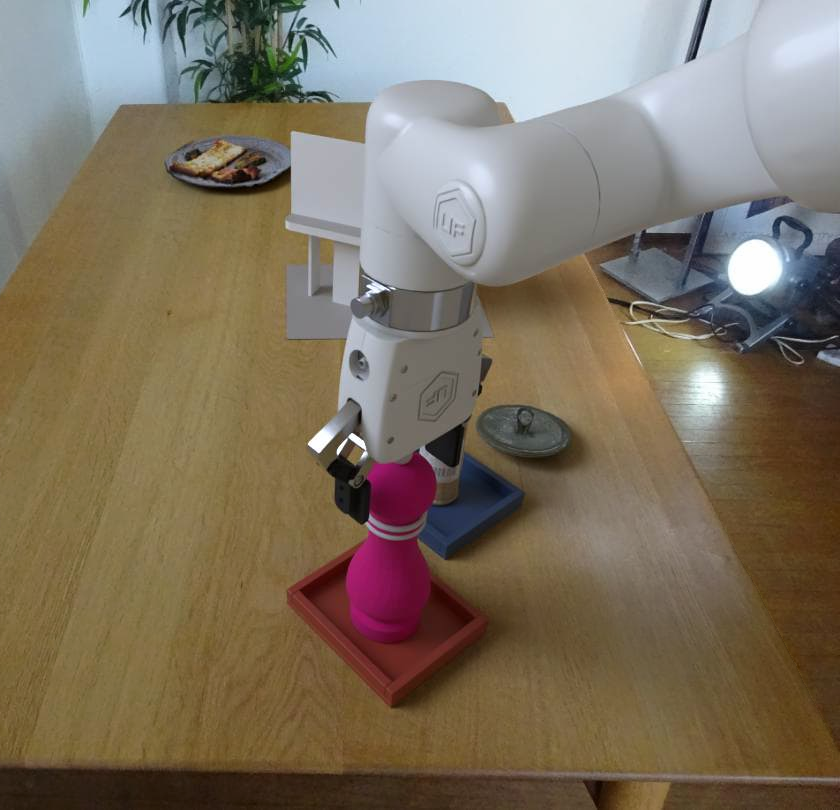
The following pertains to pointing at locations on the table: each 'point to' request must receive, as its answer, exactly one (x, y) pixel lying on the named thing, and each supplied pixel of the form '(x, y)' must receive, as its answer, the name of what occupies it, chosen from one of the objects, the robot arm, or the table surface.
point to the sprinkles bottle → (445, 475)
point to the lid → (523, 430)
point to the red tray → (386, 662)
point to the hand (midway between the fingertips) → (398, 484)
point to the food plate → (229, 161)
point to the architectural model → (327, 236)
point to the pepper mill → (393, 552)
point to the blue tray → (470, 508)
